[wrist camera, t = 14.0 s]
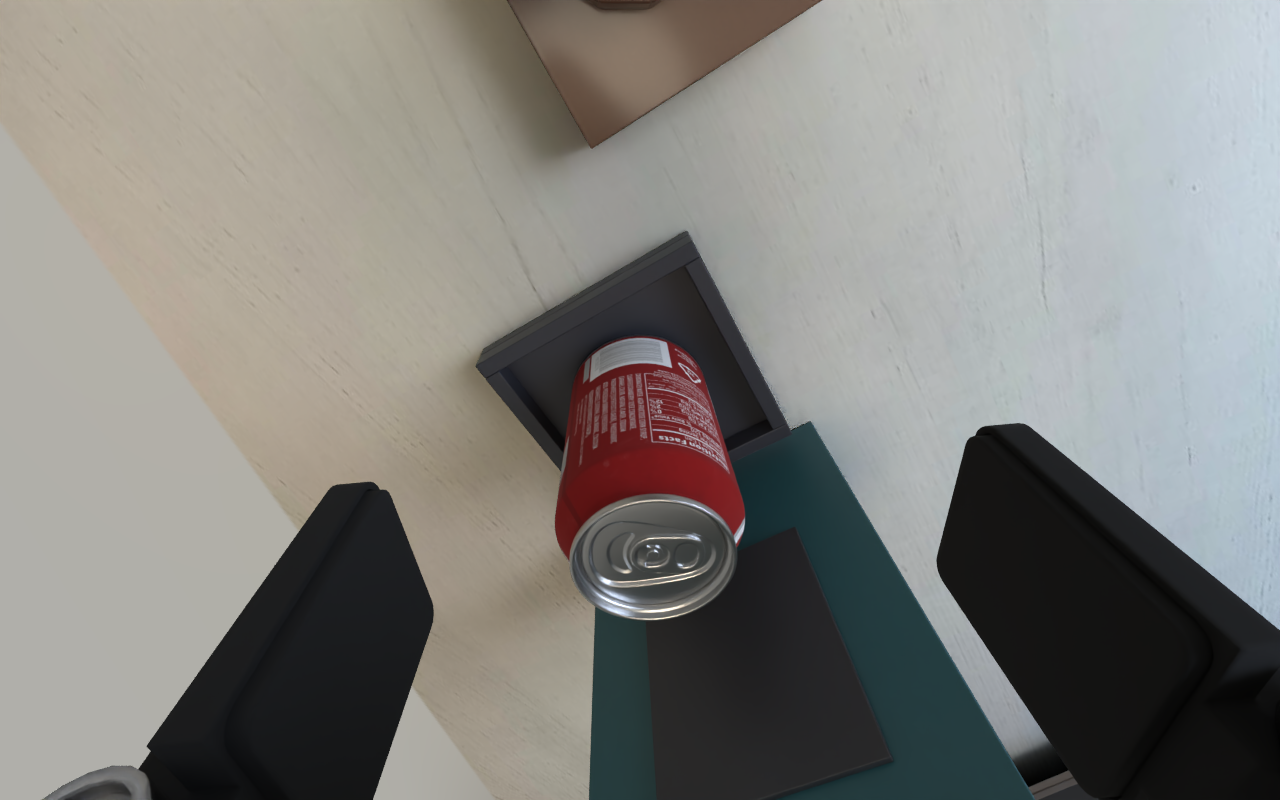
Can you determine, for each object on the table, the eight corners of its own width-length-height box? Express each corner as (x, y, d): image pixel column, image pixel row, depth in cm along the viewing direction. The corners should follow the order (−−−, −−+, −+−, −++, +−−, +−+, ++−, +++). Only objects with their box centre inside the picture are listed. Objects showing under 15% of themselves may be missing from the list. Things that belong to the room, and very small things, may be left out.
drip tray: (483, 348, 28) (474, 366, 26) (686, 230, 25) (692, 240, 24) (604, 501, 33) (603, 524, 31) (782, 414, 30) (793, 434, 29)
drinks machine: (591, 519, 34) (560, 1152, 14) (811, 414, 31) (1188, 1032, 11) (646, 585, 37) (686, 1182, 17) (851, 495, 34) (1202, 1095, 14)
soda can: (572, 326, 26) (547, 480, 16) (711, 331, 27) (774, 484, 16) (572, 442, 30) (551, 633, 19) (696, 445, 30) (740, 633, 20)
